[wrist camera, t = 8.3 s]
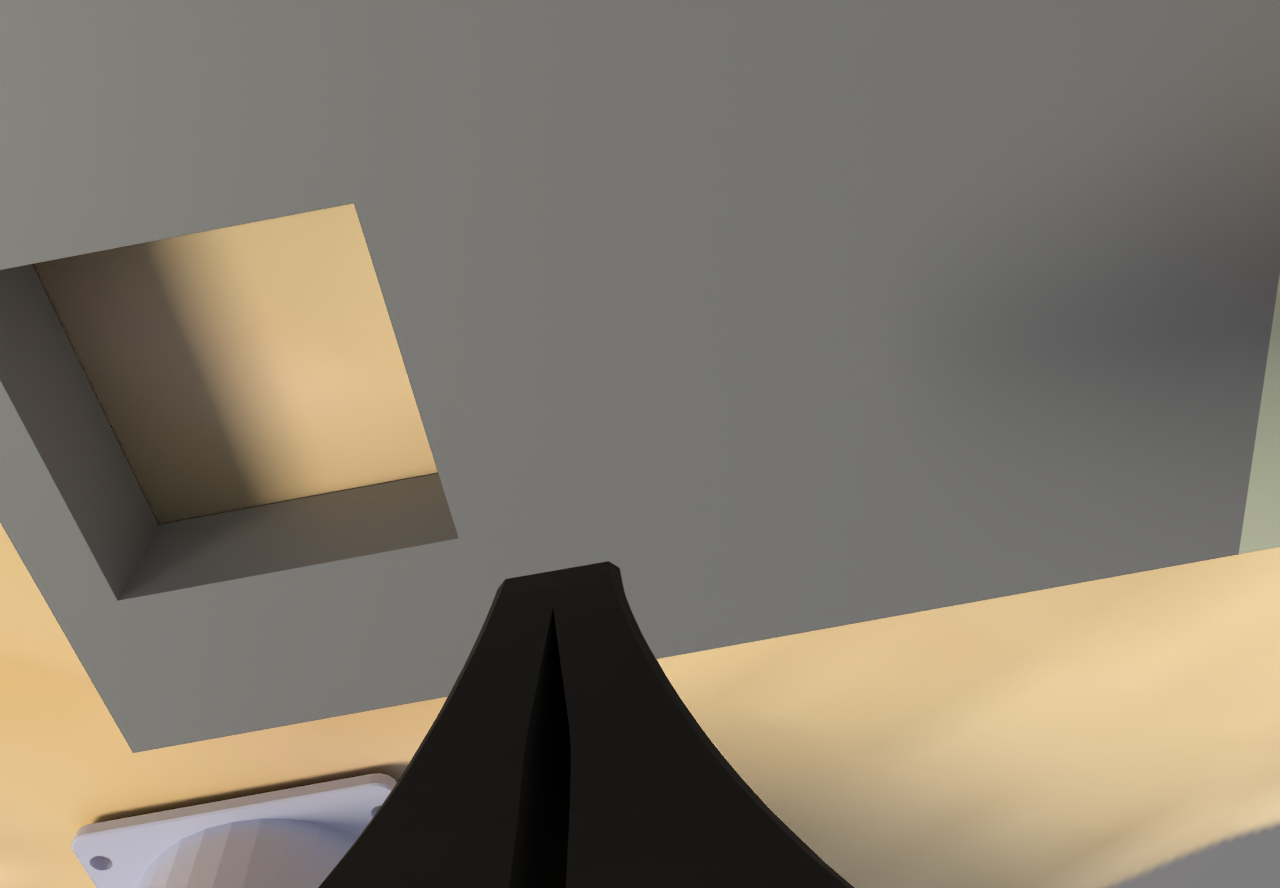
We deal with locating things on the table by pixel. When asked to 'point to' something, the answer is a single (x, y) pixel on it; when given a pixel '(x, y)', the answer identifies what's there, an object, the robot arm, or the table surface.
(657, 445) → the trap deck
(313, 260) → the table surface
